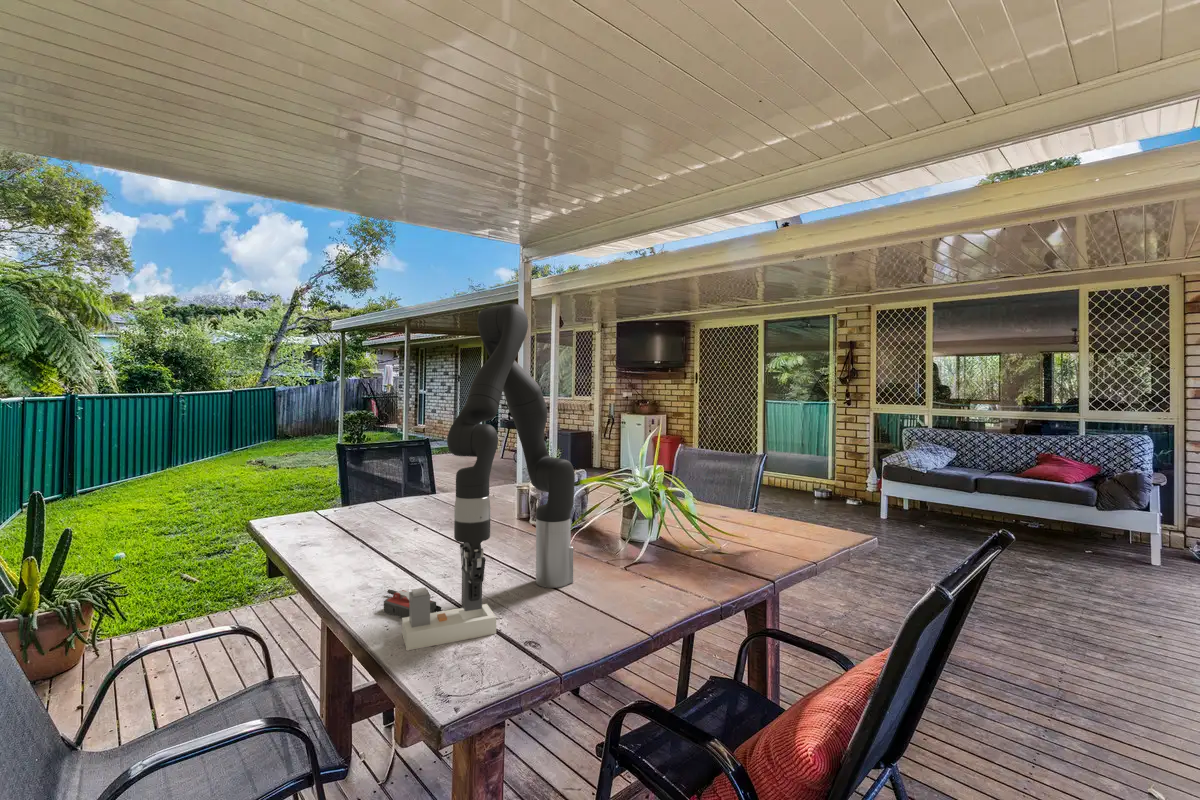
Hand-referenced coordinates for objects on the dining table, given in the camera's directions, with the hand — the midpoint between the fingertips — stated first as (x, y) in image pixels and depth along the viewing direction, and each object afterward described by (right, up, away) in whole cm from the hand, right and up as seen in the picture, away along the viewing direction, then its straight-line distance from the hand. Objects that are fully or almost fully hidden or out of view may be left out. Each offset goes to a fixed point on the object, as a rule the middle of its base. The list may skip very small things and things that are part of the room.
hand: (471, 596), depth 119 cm
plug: (0, -2, 0) cm, 2 cm away
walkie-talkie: (-19, -7, +12) cm, 23 cm away
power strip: (-4, -7, -2) cm, 9 cm away
